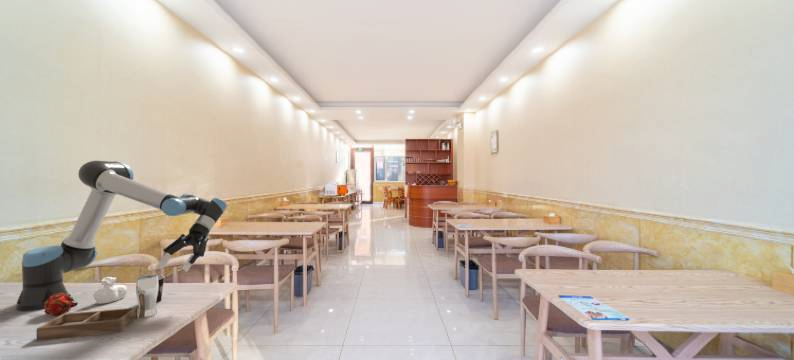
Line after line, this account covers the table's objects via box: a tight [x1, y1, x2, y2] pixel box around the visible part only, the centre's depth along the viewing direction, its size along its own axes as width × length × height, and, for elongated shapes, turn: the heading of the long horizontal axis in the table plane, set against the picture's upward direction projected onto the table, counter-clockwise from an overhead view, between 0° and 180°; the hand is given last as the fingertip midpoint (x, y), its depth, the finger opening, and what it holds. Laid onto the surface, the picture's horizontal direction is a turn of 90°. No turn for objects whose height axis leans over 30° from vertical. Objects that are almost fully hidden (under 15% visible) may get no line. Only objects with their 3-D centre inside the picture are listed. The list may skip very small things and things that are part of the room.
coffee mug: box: [156, 275, 165, 304], centre depth 143 cm, size 12×9×10 cm
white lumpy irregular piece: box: [92, 276, 128, 305], centre depth 143 cm, size 12×8×11 cm
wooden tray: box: [36, 307, 138, 342], centre depth 116 cm, size 12×23×4 cm, turn 105°
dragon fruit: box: [43, 293, 78, 317], centre depth 129 cm, size 8×8×12 cm
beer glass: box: [135, 273, 159, 319], centre depth 128 cm, size 7×7×15 cm
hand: (171, 269), depth 136 cm, fingers open, 13 cm apart
